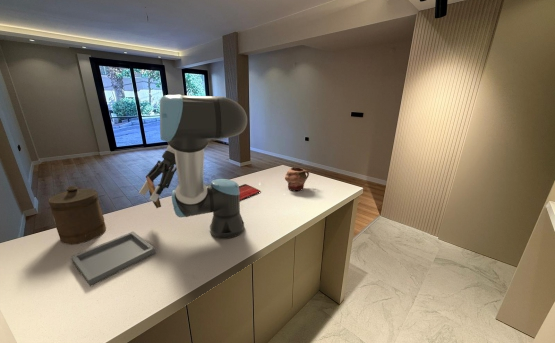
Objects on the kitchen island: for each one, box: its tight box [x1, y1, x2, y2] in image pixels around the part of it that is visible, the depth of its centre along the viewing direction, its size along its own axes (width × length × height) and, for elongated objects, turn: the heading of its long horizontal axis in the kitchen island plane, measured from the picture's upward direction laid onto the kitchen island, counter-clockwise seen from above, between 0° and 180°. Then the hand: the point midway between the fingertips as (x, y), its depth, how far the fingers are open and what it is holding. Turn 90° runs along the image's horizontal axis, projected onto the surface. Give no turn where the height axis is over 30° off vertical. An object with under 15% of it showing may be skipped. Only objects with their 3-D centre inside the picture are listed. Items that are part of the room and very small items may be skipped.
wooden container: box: [48, 185, 107, 245], centre depth 91 cm, size 15×15×22 cm
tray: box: [70, 231, 156, 287], centre depth 81 cm, size 18×20×2 cm
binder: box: [239, 183, 261, 202], centre depth 140 cm, size 16×2×21 cm
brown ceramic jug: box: [284, 167, 310, 191], centre depth 149 cm, size 20×12×14 cm, turn 130°
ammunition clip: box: [146, 175, 162, 209], centre depth 97 cm, size 11×2×12 cm, turn 40°
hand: (146, 197), depth 96 cm, fingers closed on ammunition clip, 10 cm apart
